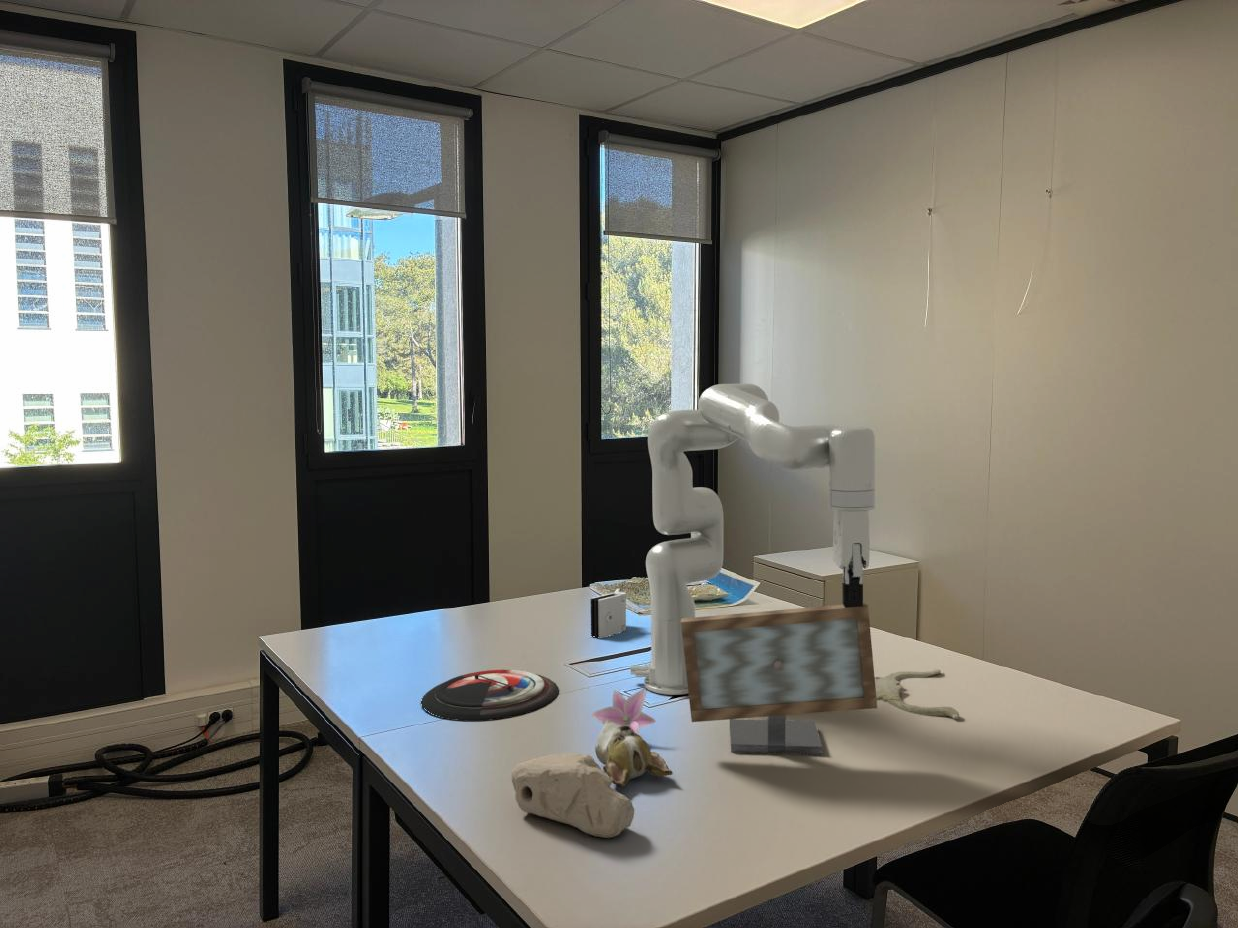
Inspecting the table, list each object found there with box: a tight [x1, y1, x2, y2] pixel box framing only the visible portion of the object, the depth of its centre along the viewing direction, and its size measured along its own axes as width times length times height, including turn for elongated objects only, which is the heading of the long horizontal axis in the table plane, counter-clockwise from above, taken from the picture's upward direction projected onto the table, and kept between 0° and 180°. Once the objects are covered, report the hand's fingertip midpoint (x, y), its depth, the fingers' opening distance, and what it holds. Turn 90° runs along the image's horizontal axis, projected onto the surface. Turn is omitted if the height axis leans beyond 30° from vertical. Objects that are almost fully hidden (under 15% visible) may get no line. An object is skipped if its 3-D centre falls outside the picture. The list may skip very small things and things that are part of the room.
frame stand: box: [729, 715, 823, 756], centre depth 171 cm, size 16×12×19 cm
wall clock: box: [420, 669, 559, 721], centre depth 197 cm, size 27×5×30 cm
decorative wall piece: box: [875, 669, 960, 720], centre depth 198 cm, size 30×3×30 cm
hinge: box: [590, 588, 627, 639], centre depth 243 cm, size 14×5×10 cm, turn 147°
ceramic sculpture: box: [594, 719, 674, 788], centre depth 158 cm, size 11×9×15 cm
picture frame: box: [681, 602, 878, 723], centre depth 163 cm, size 32×3×18 cm, turn 85°
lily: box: [591, 688, 657, 735], centre depth 173 cm, size 11×11×9 cm
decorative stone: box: [511, 752, 635, 839], centre depth 142 cm, size 20×8×10 cm, turn 56°
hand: (852, 606), depth 160 cm, fingers closed
